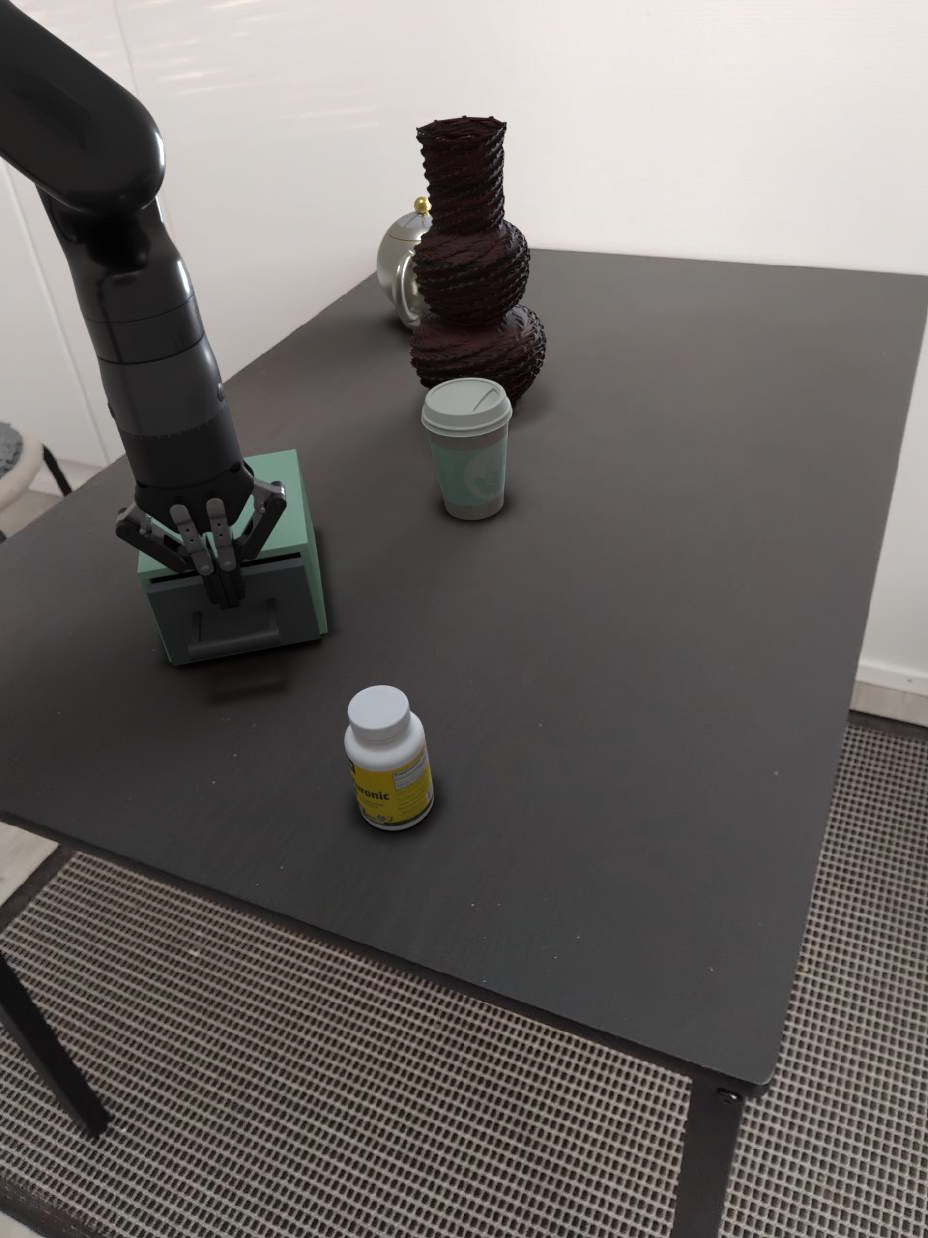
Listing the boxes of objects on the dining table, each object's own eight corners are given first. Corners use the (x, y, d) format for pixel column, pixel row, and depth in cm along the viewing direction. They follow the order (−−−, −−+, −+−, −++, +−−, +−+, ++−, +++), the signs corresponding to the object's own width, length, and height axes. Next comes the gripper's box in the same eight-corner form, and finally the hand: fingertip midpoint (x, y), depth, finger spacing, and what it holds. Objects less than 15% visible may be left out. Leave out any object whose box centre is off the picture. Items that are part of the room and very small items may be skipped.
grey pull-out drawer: (326, 680, 79) (308, 605, 74) (170, 710, 77) (142, 636, 72) (308, 543, 94) (293, 473, 89) (178, 566, 93) (155, 496, 88)
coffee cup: (462, 539, 94) (451, 427, 86) (416, 501, 99) (402, 394, 92) (534, 507, 97) (529, 396, 89) (485, 472, 103) (477, 366, 95)
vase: (416, 445, 108) (379, 155, 89) (416, 382, 120) (384, 115, 101) (554, 432, 108) (547, 139, 89) (541, 371, 120) (532, 100, 101)
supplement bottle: (344, 802, 70) (320, 704, 64) (404, 762, 72) (387, 664, 66) (389, 847, 67) (368, 749, 60) (450, 803, 69) (436, 705, 63)
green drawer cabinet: (328, 632, 85) (307, 542, 78) (169, 662, 83) (136, 572, 77) (314, 533, 97) (296, 448, 90) (175, 558, 95) (147, 473, 89)
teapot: (409, 296, 141) (395, 177, 131) (498, 302, 137) (491, 179, 127) (356, 350, 129) (336, 223, 118) (452, 358, 124) (440, 227, 114)
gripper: (265, 364, 69) (310, 560, 81) (76, 395, 68) (148, 589, 79) (270, 412, 64) (317, 616, 75) (63, 447, 62) (143, 649, 74)
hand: (230, 602), depth 77 cm, fingers closed
